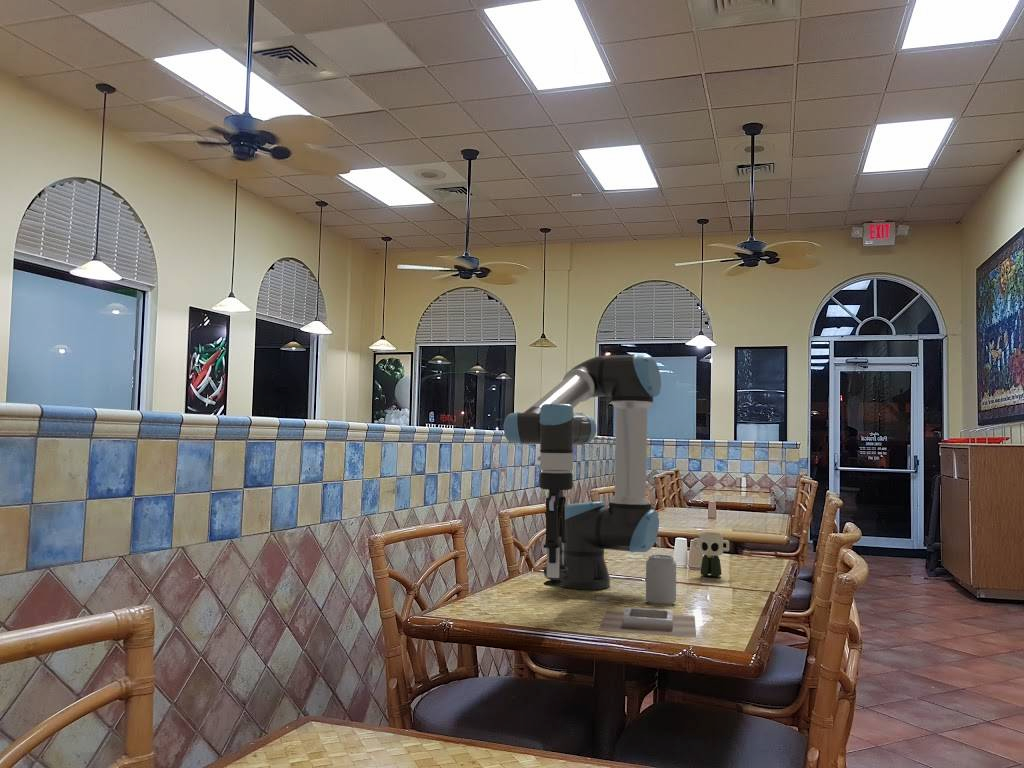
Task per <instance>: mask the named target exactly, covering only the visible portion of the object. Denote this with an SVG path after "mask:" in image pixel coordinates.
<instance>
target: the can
mask: <svg viewBox="0 0 1024 768" xmlns="http://www.w3.org/2000/svg"><path fill="white" fill-rule="evenodd" d="M674 558H675V557H674V556H673V555H668V554H649V555H648V559H647V560H646V561H645V600H646V601H647V602H648V604H650V605H654V606H667V607H671V606H673V605H674V603H676V602H677V563H676V561H675V560H674Z"/></svg>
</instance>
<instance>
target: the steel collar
mask: <svg viewBox="0 0 1024 768" xmlns="http://www.w3.org/2000/svg"><path fill="white" fill-rule="evenodd" d="M624 612H625V613H624V616H623V627H635V628H649V629H664V630H673V615H674V610H673V609H661V608H644V607H629V606H627V607H625V611H624Z"/></svg>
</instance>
